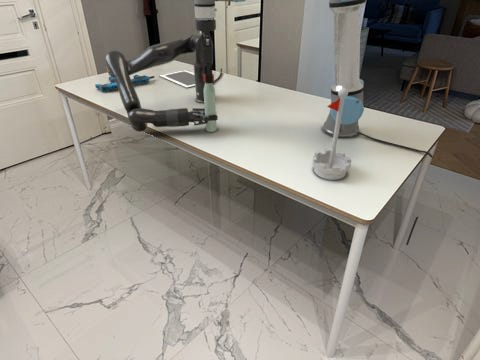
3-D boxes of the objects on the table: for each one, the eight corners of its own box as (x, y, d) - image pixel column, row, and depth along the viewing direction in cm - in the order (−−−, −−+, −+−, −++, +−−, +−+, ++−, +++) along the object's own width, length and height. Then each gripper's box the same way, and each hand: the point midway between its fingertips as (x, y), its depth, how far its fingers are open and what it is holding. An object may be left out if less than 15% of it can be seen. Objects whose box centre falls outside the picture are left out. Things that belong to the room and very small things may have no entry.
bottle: (218, 130, 151) (216, 76, 138) (209, 132, 148) (206, 78, 135) (213, 126, 154) (210, 74, 141) (204, 129, 152) (200, 76, 139)
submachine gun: (140, 69, 223) (158, 75, 206) (141, 75, 225) (159, 81, 208) (87, 79, 204) (103, 87, 188) (89, 85, 206) (105, 94, 190)
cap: (216, 80, 139) (215, 74, 138) (208, 83, 137) (207, 76, 135) (209, 78, 142) (208, 72, 140) (201, 81, 139) (200, 74, 138)
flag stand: (334, 159, 128) (348, 80, 112) (356, 176, 118) (375, 92, 101) (304, 166, 124) (314, 84, 108) (324, 184, 114) (338, 97, 97)
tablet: (159, 76, 220) (159, 75, 220) (185, 70, 231) (185, 69, 231) (186, 88, 199) (186, 87, 199) (214, 81, 210) (214, 80, 210)
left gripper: (178, 119, 153) (215, 116, 156) (178, 132, 142) (218, 129, 144) (176, 103, 149) (214, 101, 152) (176, 115, 138) (218, 113, 140)
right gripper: (217, 22, 119) (219, 87, 131) (213, 15, 135) (216, 73, 148) (196, 23, 118) (200, 88, 131) (194, 15, 134) (198, 74, 147)
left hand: (216, 115), depth 148 cm, fingers closed on bottle, 4 cm apart
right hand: (208, 80), depth 139 cm, fingers open, 6 cm apart
